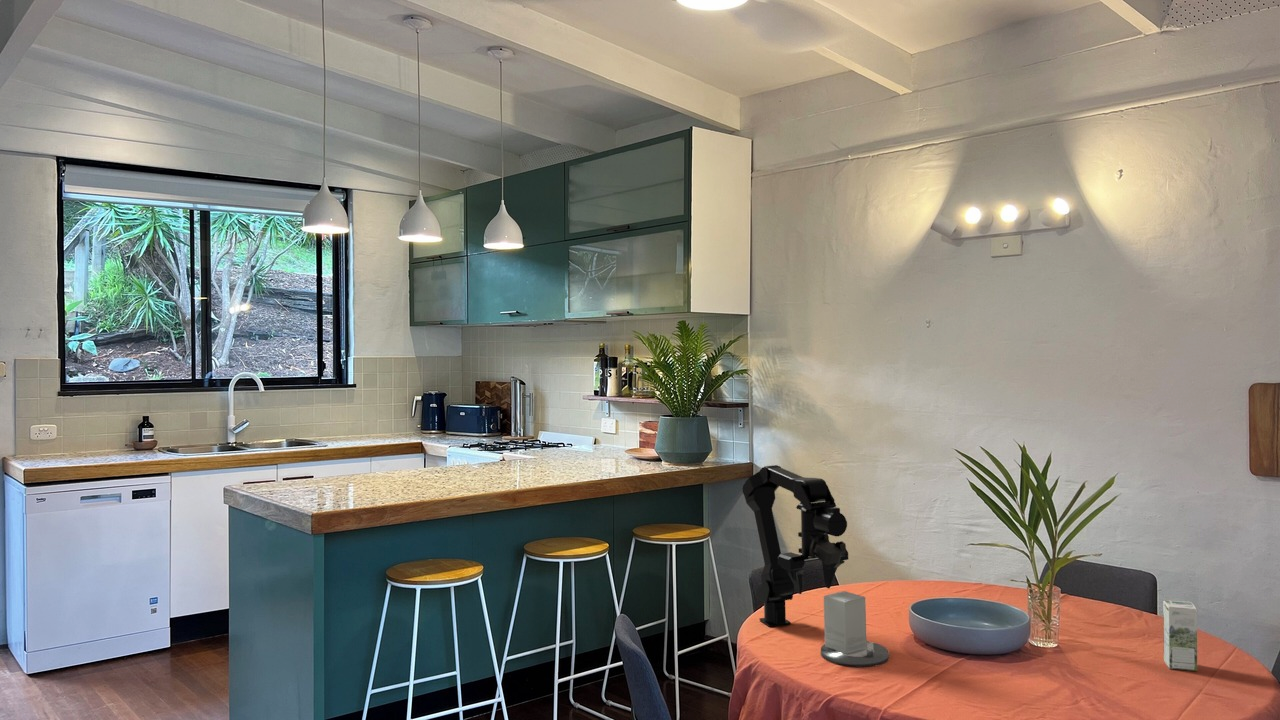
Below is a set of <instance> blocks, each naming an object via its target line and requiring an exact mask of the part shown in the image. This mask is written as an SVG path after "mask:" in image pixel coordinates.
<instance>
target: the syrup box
mask: <svg viewBox="0 0 1280 720" xmlns="http://www.w3.org/2000/svg"><path fill="white" fill-rule="evenodd" d="M1162 606H1163V609H1162V610H1163V611H1162V613H1163V620H1162V621H1163V627H1162V628H1163V661H1164V663H1165V664H1166V666H1167V667H1168V668H1169V670H1178V671H1179V670H1180V671H1188V672H1189V671H1190V672H1192V671H1193V672H1197V671H1198V609H1197V607H1196V606H1195V604H1194V603H1193V602H1191V601H1183V600H1167V599H1165V600H1163V603H1162Z"/></svg>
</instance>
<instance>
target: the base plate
mask: <svg viewBox="0 0 1280 720" xmlns="http://www.w3.org/2000/svg"><path fill="white" fill-rule="evenodd" d="M866 641H867V642H866V649H862V650H859V651H855V652H852V653H848V654H845V653H842V652H839V651H837V650H834V649H831V648H828V647H825V643H823V644H822V645H821V647H820V656H821V657H822V658H823V659H824V660H825V659H826V660H825V661H827V662H830V663H832V664H834V663H835V665H838V666H842V667H851V668H869V667H870V668H871V667H877V666H881V665H883V664H886V663H887V662H888V661H889V660H888V659H890V651H889V649H888V648H887V647H885V646H883V645H881V644H879V643H877V642H873V641H868V640H866ZM876 665H877V666H876Z"/></svg>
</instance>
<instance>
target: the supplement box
mask: <svg viewBox="0 0 1280 720" xmlns="http://www.w3.org/2000/svg"><path fill="white" fill-rule="evenodd" d="M866 605H867V603H866V596H863V595H860V594H855V593H853V592H849V591H847V590H846V591H845V590H843V591H837V592H834V593H829V594H826V595H823V621H824V622H823V623H824V625H823V627H824V644H825V647H828V648H831V649H834V650H837V651H839V652H842V653H845V654H848V653H852V652H855V651H859V650H862V649H866V642H867V641H868V640H867V614H866V613H867V609H866V607H867V606H866Z"/></svg>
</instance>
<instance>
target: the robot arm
mask: <svg viewBox="0 0 1280 720" xmlns="http://www.w3.org/2000/svg"><path fill="white" fill-rule="evenodd" d="M779 487H781V488H782V489H785V490H787V491H789V492H791V493H793V498H795V499H796V500H798V501H799V502H800V503H798V504H797V505H796V507H795V508H796V510H799V511H800V521H801V522H800V525H801V526H800V527H801V529H800V530H801V531H799V532H797V533H798V534H797V536H798V538H801V547H800V548H798V553H800V554H798V553H795V552H791V551H790V552H785V553H782V552H781V546H780V542H779V537H778V532H777V527H776V522H775V517H774V512H773V507H774V504H775V501H776V491H777V490H778V488H779ZM742 494H743V496H744V500H745V502H746V504H747V505H748V507H749V508H750V509H751V510H752V511H753V512H754V517H755V522H756V523H755V524H756V528H757V532H758V537H759V542H760V547H761V552H762V557H763V562H764V566H763V570H762V571H761V576H760V578H761V584H760V585H759V587H758V588H757V589H756V591H755V597H756V600H757V601H758V602H761V603H763V614H764V616H763V617H761V618H759V621H760V622H761V623H763V624H764V625H766V626H768V627H770V628H771V627H780V626H785V625H791V624H792V621H790V620H788V619H787V617H786V614H787V613H786V601H789V600H790V601H791V600H793V597H794V592H795V590H796V592H797V594H799V595H802V594H803V573H804V572H805V570H806V568H804V566H805V563H808V562H813V561H818V560H819V561H821V566H822V572H823V581H824V584H825V588H826V589H830V588H831V586H832V583H833V580H834V577H835V575H836V572H837V570H838V568H839V567H840V566H842V565H843V564H845V561H847V560H849V552H848V550H847V545H846V543H845V542H844V541H843V540H840V541H836V542H831V541H830V536H832V537H841V536H842V535H843V534H845V532H846V531H847V529H848V520H847V518H846V516H845V515H844V514H843V513H841V509H840V507H837V505H836V500H835V498H834V497H833V495H832V492H831V491H830V488H829V485H828V484H827V482H826V481H825V480H824V479H823V478H817V477H804V476H801V475H800V474H799V475H798V474H797V473H795V472H792V471H789V470H787V469H785V468H782V467H781V466H780V465H777V464H775V465H773V464H772V465H764V466H762V467H761V468H760V470H759V471H757V472H756V473H755V474H753V475H751V476H750V477H748V479H746V480H745V481H744V484H743V485H742Z"/></svg>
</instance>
